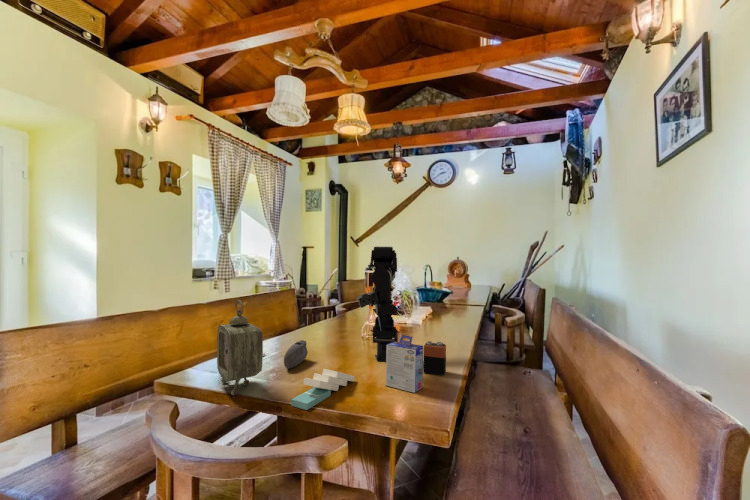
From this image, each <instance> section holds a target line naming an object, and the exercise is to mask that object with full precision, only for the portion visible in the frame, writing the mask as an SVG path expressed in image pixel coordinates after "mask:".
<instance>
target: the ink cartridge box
mask: <svg viewBox="0 0 750 500" xmlns="http://www.w3.org/2000/svg"><path fill="white" fill-rule="evenodd" d="M405 339H408V340H405ZM412 341H413V336H411V335H403V334H402V335H401V337H400V340H399V341H398V342H392V343H389V344H387V350H386V361H385V386H386V387H391V388H395V389H397V390H398V389H399V390H403V391H406V392H411V393H415V394H416V393H417V392H418V391H419V390H422V389H423V387H424V378H423V377H424V345H421V344H413V342H412Z"/></svg>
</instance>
